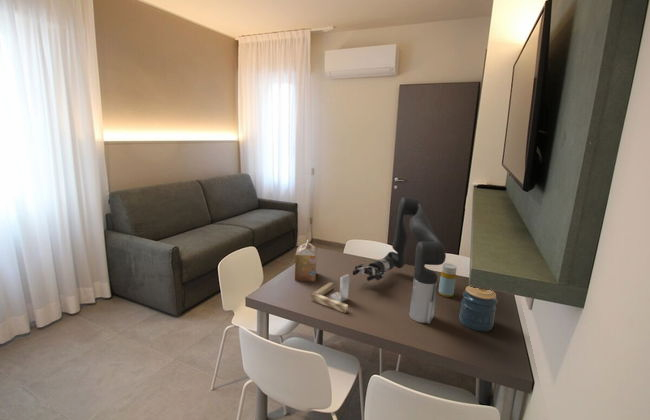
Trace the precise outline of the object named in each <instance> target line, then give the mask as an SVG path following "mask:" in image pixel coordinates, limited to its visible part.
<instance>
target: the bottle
mask: <svg viewBox="0 0 650 420" xmlns="http://www.w3.org/2000/svg"><path fill="white" fill-rule="evenodd" d="M456 280H457V266H456V265H455V264H452V263H446V262H445V263H443V264H442V269H441V272H440V277H439V284H438V294H439V295H440V296H442V297H444V298H452V297H453V296H454V293H455V288H456Z"/></svg>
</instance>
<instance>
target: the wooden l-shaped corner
mask: <svg viewBox="0 0 650 420" xmlns="http://www.w3.org/2000/svg"><path fill="white" fill-rule="evenodd" d="M332 290H334V282H330V281H329V282H328V283H326V284H324V285H323V286H322V287H320V288H319V289H317V290H315V291H313V292H312V293H311V294H310V301H312V302H314V303H317V304H320V305H323V306H326V307H328V308H331V309H333V310H336V311H338V312H342V313H344V314H346V313H348V310H349V305H348V304H346V303H344V302H339V301H336V300H334V299H332V298H330V297H327V296H325V295H326V294H328V293H329V292H331V291H332Z"/></svg>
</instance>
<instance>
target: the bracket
mask: <svg viewBox="0 0 650 420" xmlns="http://www.w3.org/2000/svg"><path fill="white" fill-rule="evenodd" d="M349 285H350V274H347V273H346V274H344V275H343V276H340V278H339V291H335V292H333V293H331V294H330V295H329V298H330V299H333V300H336V301H339V302H341V303H344V302H345V301H347V300H349V288H350V287H349Z"/></svg>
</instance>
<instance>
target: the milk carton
mask: <svg viewBox="0 0 650 420" xmlns="http://www.w3.org/2000/svg"><path fill="white" fill-rule="evenodd" d="M308 241H309V239H307V240H306V242H304V243H302V244H300V245H299V246H298V247H297V248H296V252H295V257H294V258H295V261H294V281H301V282H316V275H317V260H318V258H317V257H318V248H317V247H316V246H315V245H313V244H312V243H310V242H308Z"/></svg>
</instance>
